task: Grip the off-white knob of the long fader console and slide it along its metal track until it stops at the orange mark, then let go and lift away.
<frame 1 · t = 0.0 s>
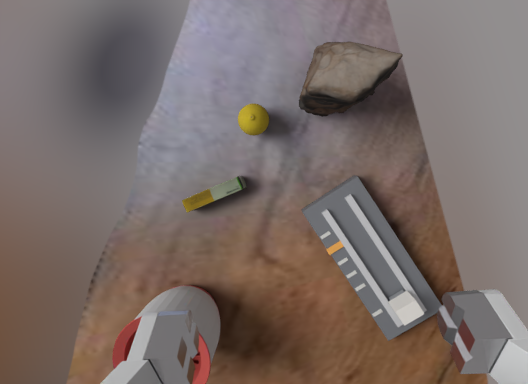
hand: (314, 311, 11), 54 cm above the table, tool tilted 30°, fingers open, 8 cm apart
citrus juicer: (191, 315, 69), on the table
console: (369, 255, 66), on the table
fader: (404, 306, 60), point 6 cm above the table, slide at -9.0 cm
medication box: (217, 192, 66), on the table
lemon: (255, 121, 64), on the table
owl: (331, 81, 63), on the table
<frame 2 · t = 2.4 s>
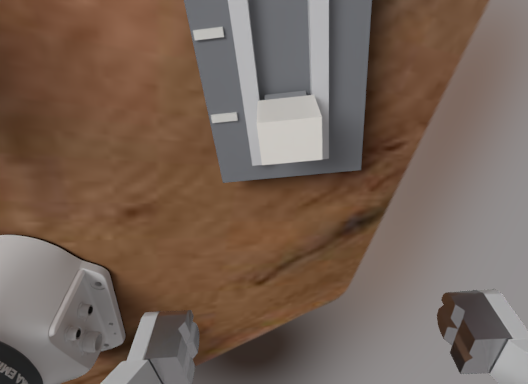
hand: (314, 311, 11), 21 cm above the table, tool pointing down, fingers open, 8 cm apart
fader: (288, 125, 23), point 6 cm above the table, slide at -9.0 cm
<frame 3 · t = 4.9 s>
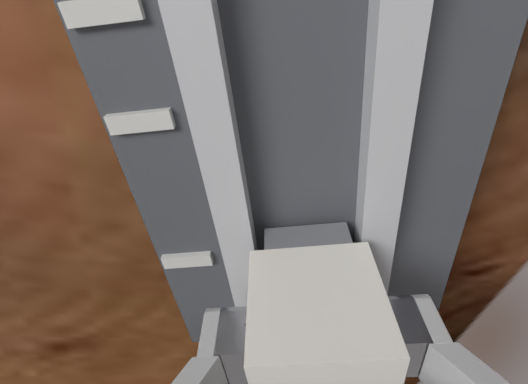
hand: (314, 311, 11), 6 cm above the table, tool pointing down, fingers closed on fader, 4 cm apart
fader: (314, 310, 11), point 6 cm above the table, slide at -9.0 cm, touching gripper
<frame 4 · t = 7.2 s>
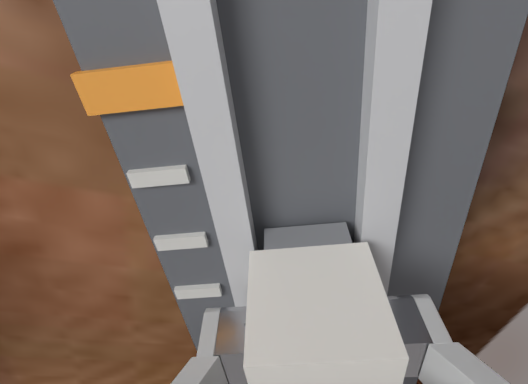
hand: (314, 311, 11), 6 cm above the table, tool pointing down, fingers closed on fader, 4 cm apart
console: (298, 185, 15), on the table
fader: (313, 310, 11), point 6 cm above the table, slide at -1.0 cm, touching gripper
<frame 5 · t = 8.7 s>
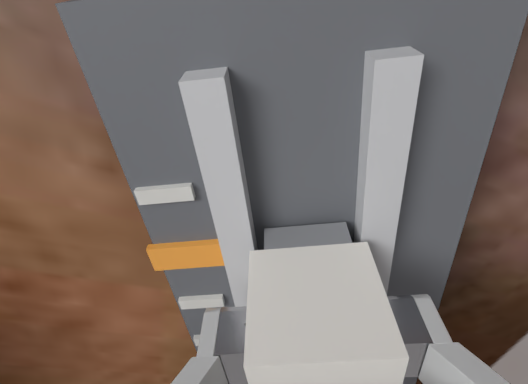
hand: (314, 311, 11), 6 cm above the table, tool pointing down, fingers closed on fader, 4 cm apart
console: (304, 283, 19), on the table
fader: (313, 310, 11), point 6 cm above the table, slide at 5.7 cm, touching gripper
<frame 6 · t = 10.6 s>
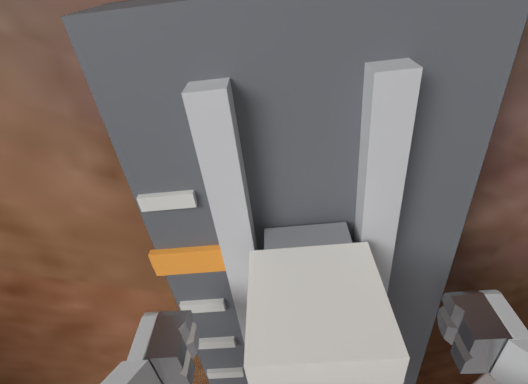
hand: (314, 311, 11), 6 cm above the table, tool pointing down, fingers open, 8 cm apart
console: (304, 287, 19), on the table
fader: (314, 310, 11), point 6 cm above the table, slide at 6.0 cm
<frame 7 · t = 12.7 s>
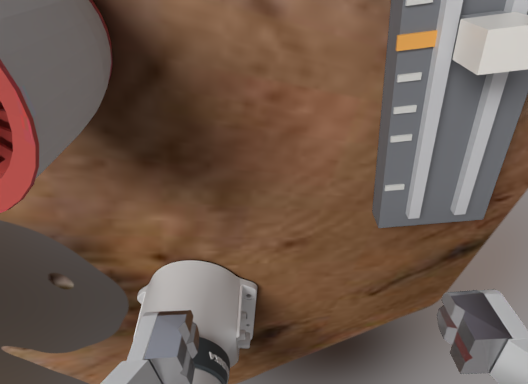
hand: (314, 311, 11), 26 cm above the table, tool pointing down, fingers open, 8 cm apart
citrus juicer: (49, 43, 31), on the table
console: (444, 91, 33), on the table
fader: (492, 41, 25), point 6 cm above the table, slide at 6.0 cm
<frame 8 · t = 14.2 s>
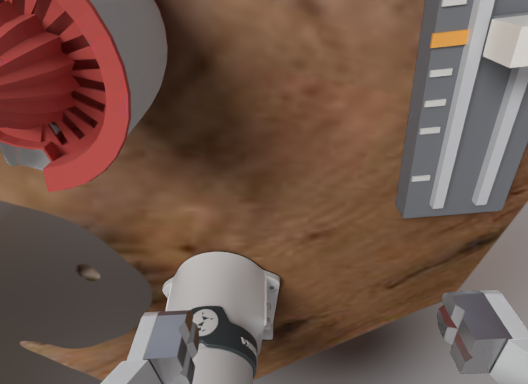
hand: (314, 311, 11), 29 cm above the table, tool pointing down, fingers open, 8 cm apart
citrus juicer: (105, 37, 33), on the table
console: (468, 88, 36), on the table
fader: (521, 38, 28), point 6 cm above the table, slide at 6.0 cm
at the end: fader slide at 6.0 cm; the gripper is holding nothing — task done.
